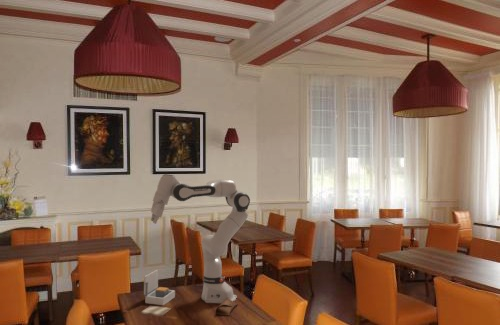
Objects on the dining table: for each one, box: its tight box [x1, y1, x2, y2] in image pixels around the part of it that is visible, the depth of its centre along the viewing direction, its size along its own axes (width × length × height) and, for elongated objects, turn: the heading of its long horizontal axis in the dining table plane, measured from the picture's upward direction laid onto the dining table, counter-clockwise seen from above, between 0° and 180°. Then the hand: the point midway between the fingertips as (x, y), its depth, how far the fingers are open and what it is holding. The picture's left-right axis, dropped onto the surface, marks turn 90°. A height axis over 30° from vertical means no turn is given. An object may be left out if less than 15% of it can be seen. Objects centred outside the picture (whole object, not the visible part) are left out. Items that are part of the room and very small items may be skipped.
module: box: [156, 286, 169, 298], centre depth 240 cm, size 6×5×7 cm
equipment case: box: [143, 269, 176, 306], centre depth 240 cm, size 13×15×17 cm
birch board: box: [140, 304, 172, 317], centre depth 224 cm, size 14×10×1 cm
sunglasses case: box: [215, 298, 239, 316], centre depth 229 cm, size 18×7×7 cm, turn 166°
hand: (153, 222), depth 232 cm, fingers open, 8 cm apart
